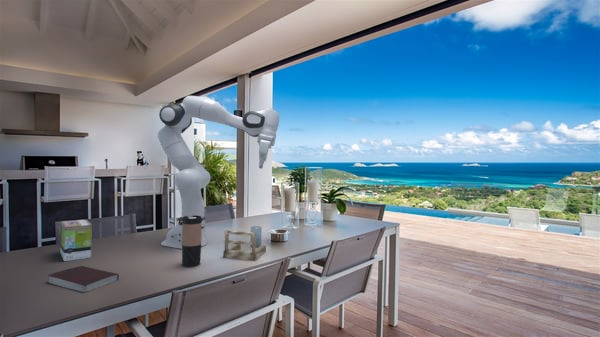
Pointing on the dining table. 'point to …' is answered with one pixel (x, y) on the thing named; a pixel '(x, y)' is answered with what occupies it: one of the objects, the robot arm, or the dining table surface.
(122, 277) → the dining table surface
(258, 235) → the grey upright block
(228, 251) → the rack
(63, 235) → the tea box
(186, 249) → the travel mug
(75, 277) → the book
